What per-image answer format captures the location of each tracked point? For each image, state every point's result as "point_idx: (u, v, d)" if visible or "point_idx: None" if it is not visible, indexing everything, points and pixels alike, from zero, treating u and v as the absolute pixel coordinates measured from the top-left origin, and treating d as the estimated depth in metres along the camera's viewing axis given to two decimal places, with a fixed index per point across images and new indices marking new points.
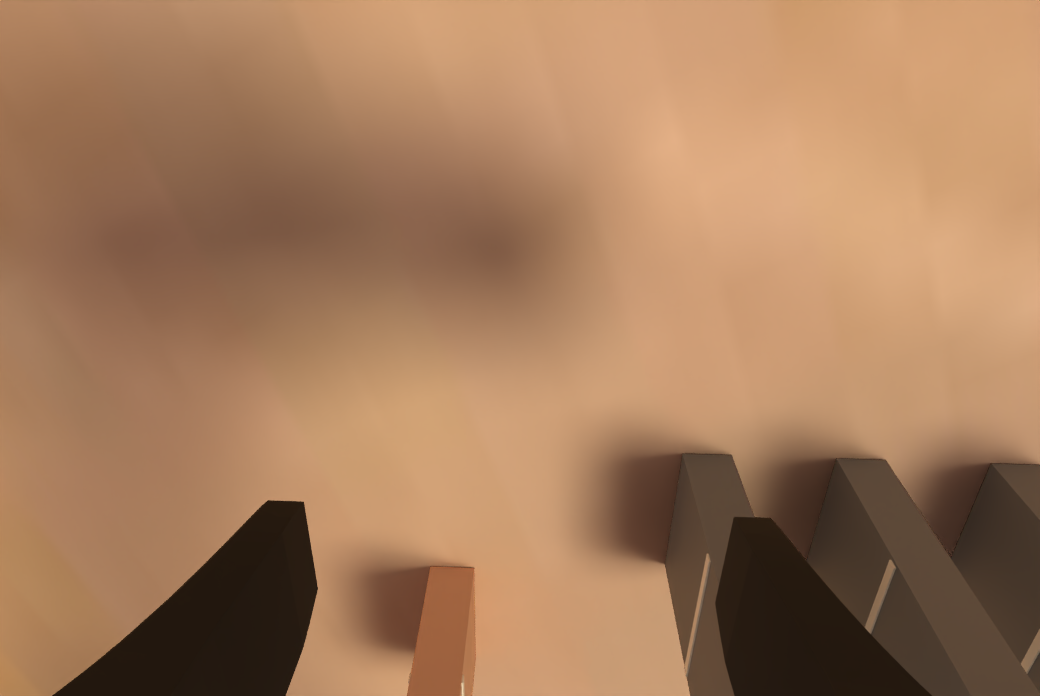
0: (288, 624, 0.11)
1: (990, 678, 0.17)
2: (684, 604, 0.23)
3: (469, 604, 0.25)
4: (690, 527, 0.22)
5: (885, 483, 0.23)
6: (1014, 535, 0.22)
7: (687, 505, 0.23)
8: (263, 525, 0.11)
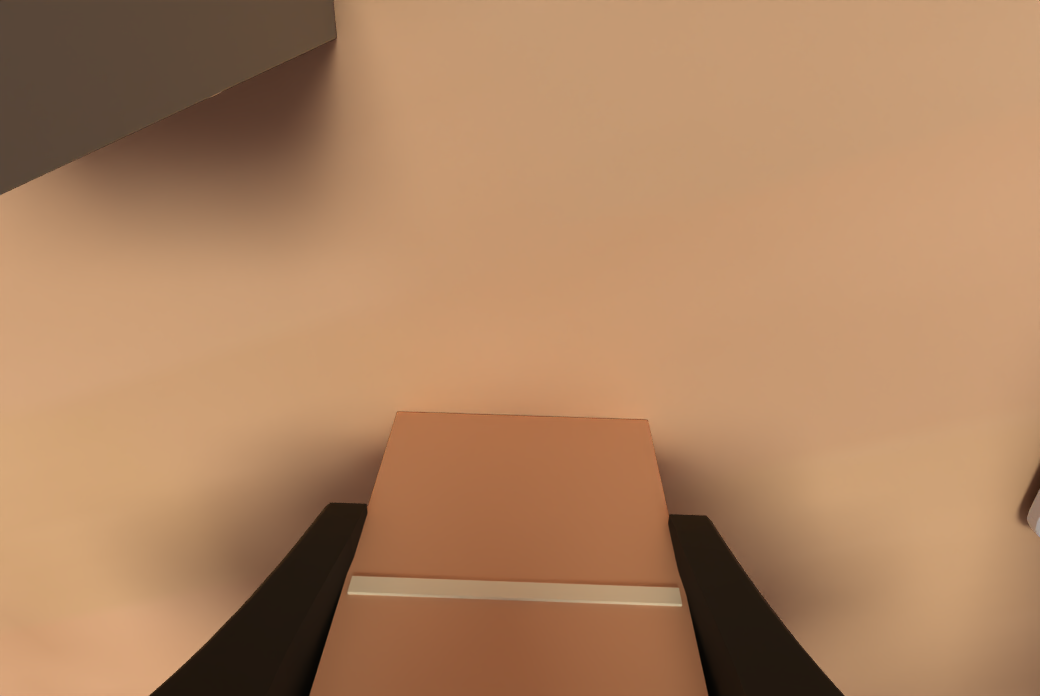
0: None
1: None
2: None
3: (384, 463, 0.13)
4: None
5: None
6: None
7: None
8: (331, 528, 0.11)
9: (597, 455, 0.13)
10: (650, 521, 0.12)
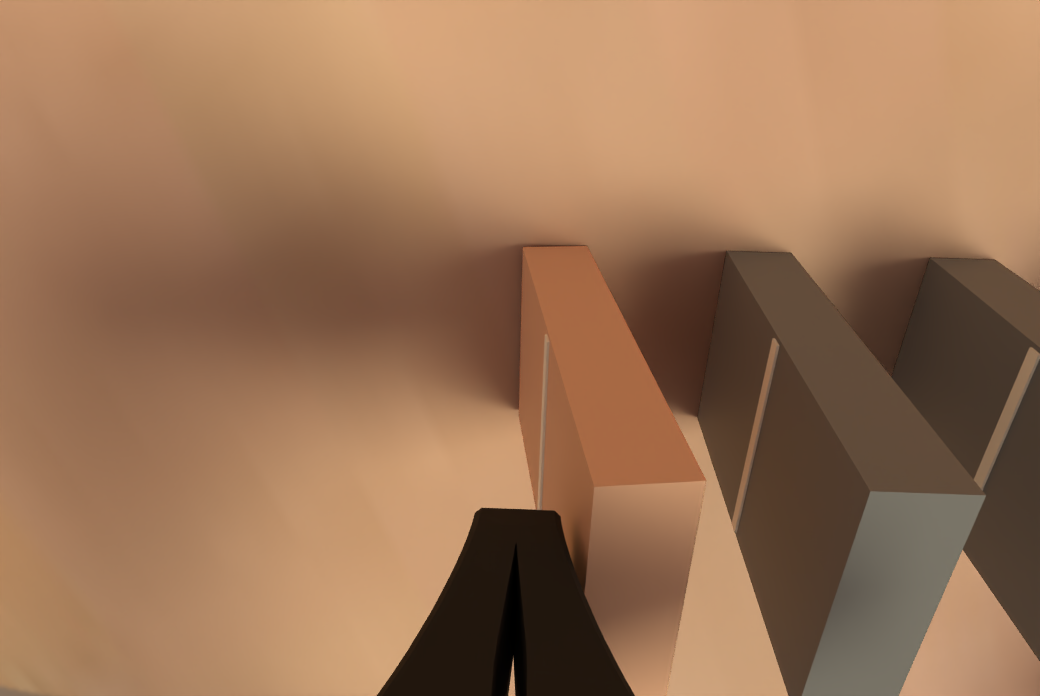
0: (512, 632, 0.11)
1: None
2: (730, 442, 0.17)
3: (599, 274, 0.17)
4: (740, 333, 0.17)
5: (1001, 278, 0.17)
6: None
7: (735, 309, 0.17)
8: (493, 533, 0.11)
9: None
10: None
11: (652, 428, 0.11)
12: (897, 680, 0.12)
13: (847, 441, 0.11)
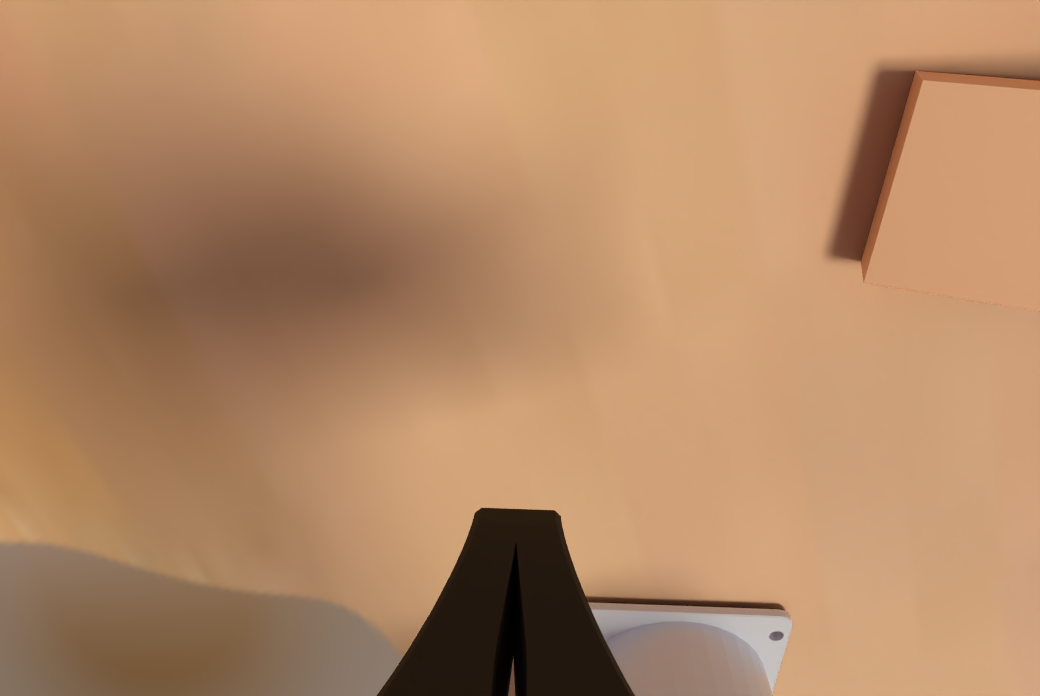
0: (512, 632, 0.11)
1: None
2: None
3: (989, 79, 0.17)
4: None
5: None
6: None
7: None
8: (493, 533, 0.11)
9: None
10: None
11: None
12: None
13: None
